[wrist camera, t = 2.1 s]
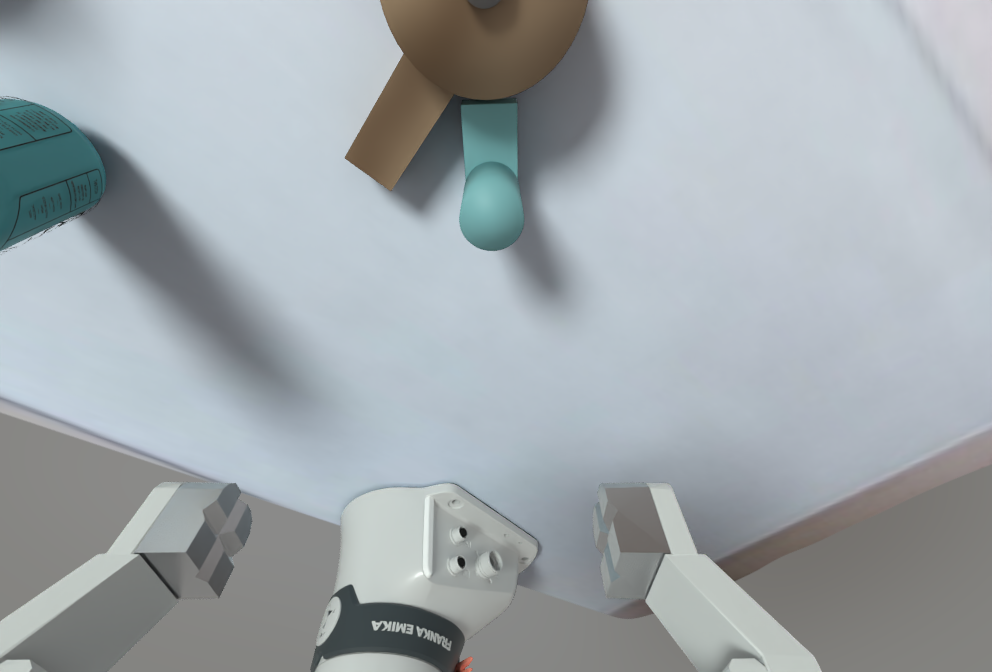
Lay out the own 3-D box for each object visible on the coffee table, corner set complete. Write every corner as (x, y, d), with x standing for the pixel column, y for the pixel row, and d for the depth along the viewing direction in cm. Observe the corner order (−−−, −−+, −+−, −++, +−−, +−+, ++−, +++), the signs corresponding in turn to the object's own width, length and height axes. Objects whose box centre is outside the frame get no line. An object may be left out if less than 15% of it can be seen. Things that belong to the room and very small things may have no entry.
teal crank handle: (460, 99, 25) (451, 122, 19) (517, 97, 25) (524, 119, 19) (468, 206, 29) (461, 251, 23) (517, 204, 29) (524, 249, 23)
